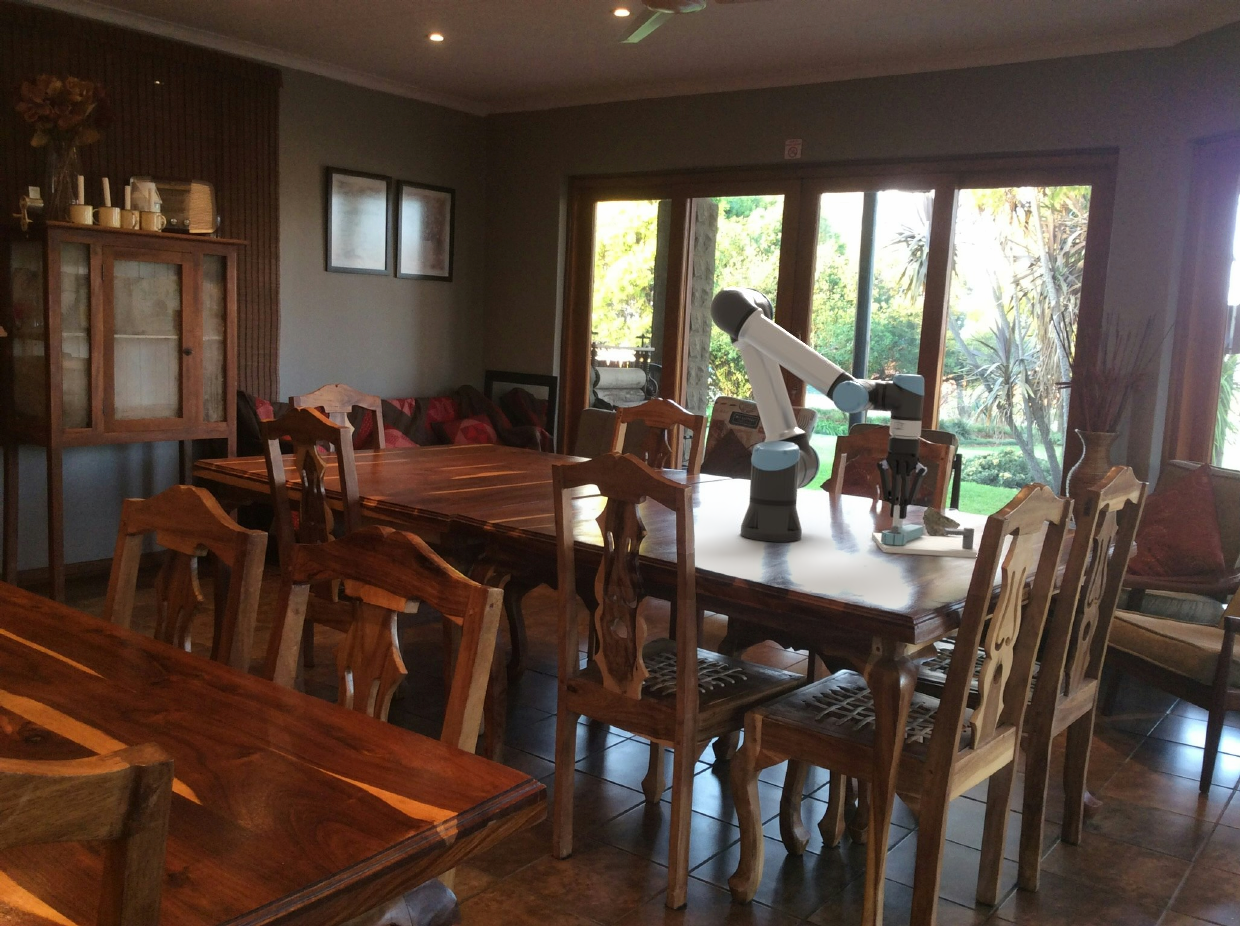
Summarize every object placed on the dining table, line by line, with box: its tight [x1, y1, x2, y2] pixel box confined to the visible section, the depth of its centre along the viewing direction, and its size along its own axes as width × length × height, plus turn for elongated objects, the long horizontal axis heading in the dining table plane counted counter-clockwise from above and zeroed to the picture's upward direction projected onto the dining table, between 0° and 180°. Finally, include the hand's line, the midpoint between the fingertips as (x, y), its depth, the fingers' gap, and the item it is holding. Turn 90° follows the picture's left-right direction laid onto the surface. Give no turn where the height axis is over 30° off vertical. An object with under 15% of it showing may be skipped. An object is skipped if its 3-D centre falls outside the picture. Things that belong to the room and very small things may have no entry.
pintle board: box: [871, 525, 979, 559], centre depth 262 cm, size 22×19×6 cm
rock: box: [922, 504, 961, 537], centre depth 278 cm, size 11×6×10 cm
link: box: [881, 523, 924, 545], centre depth 263 cm, size 18×6×2 cm, turn 144°
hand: (897, 531), depth 267 cm, fingers closed
